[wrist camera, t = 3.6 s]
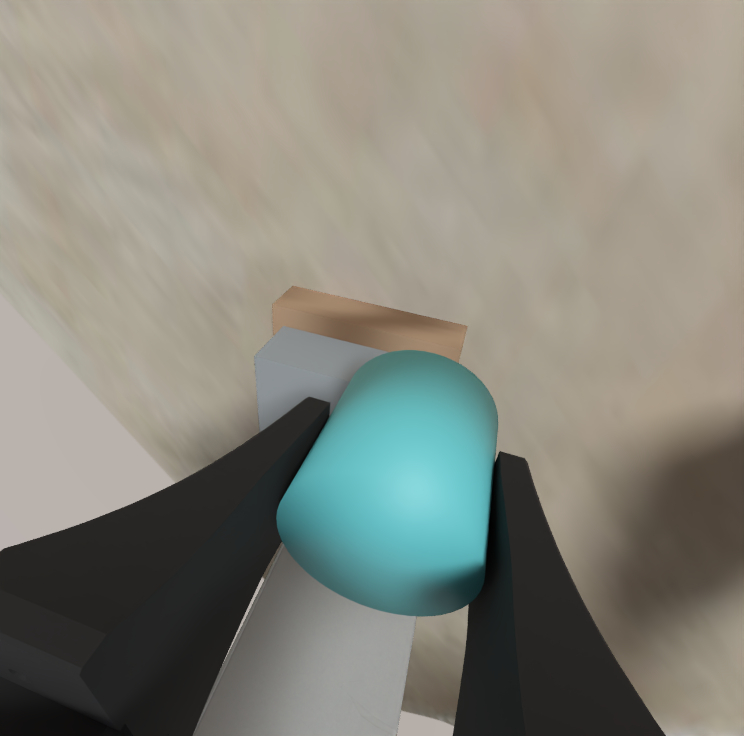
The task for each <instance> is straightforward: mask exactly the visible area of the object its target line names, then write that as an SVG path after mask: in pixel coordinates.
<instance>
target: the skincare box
mask: <svg viewBox="0 0 744 736" xmlns="http://www.w3.org/2000/svg"><path fill="white" fill-rule="evenodd" d="M416 618H417V616H406V615H398V614H392V613H387V612H383V611H380V610H376V609H372V608H369V607H367V606H364V605H361V604H358V603H356V602H354V601H351V600H349V599H347V598H345V597H343V596H341V595H339V594H337V593H335V592H334V591H332V590H330V589H329V588H327V587H326V586H324V585H323V584H321V583H320V582H318V581H317V580H316V579H314V578H313V577H312V576H310V575H309V574H308V573H307V572H306V571H305V570H304V569H303V568H302V567H301V566H300V565H299V564H298V563H297V562H296V561H295V560H294V559H293V557H292V556H291V555H290V553H289V552H288V551H287V549H286V547H285V546H284V544H283V543H282V545H281V548H280V550H279V552H278V554H277V556H276V558H275V560H274V562H273V564H272V566H271V568H270V570H269V572H268V574H267V576H266V578H265V580H264V582H263V584H262V586H261V588H260V590H259V592H258V594H257V596H256V599H255V600H254V602H253V604H252V607H251V609H250V611H249V613H248V615H247V617H246V619H245V621H244V623H243V625H242V627H241V629H240V631H239V633H238V635H237V637H236V639H235V641H234V643H233V645H232V647H231V649H230V651H229V654H228V655H227V657H226V659H225V661H224V663H223V665H222V667H221V670H220V672H219V674H218V676H217V678H216V681H215V683H214V685H213V688H212V690H211V692H210V695H209V697H208V699H207V702H206V704H205V707H204V709H203V712H202V714H201V717H200V719H199V721H198V724H197V726H196V729H195V731H194V734H193V736H397V730H398V725H399V718H400V712H401V706H402V701H403V695H404V689H405V683H406V677H407V671H408V665H409V659H410V654H411V648H412V642H413V636H414V630H415V624H416Z"/></svg>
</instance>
